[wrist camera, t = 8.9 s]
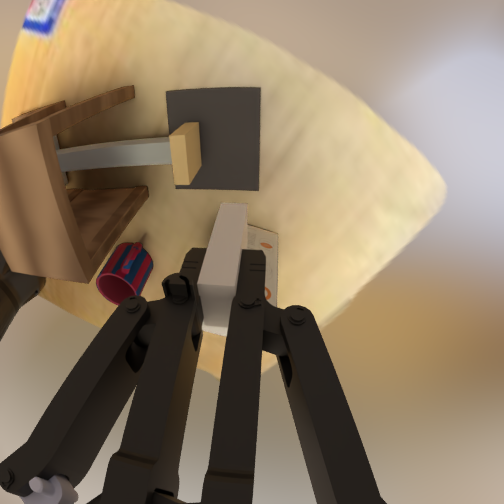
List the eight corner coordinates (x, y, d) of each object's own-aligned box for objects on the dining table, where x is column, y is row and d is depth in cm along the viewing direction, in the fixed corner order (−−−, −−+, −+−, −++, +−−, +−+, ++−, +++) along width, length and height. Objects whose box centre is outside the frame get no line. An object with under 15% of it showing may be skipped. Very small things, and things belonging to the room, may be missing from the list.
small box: (208, 251, 40) (185, 327, 30) (218, 214, 36) (194, 289, 26) (264, 268, 41) (257, 346, 31) (280, 233, 37) (278, 312, 27)
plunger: (63, 183, 34) (36, 206, 29) (49, 124, 29) (17, 142, 23) (205, 177, 33) (190, 205, 28) (200, 102, 27) (181, 114, 22)
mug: (109, 259, 43) (91, 289, 38) (132, 220, 38) (111, 250, 33) (142, 281, 45) (128, 313, 40) (170, 246, 40) (155, 279, 35)
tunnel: (42, 199, 37) (-20, 265, 24) (20, 114, 28) (-62, 164, 15) (148, 196, 35) (88, 283, 23) (133, 85, 26) (36, 124, 14)
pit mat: (176, 187, 34) (175, 188, 34) (167, 91, 27) (165, 91, 27) (258, 189, 34) (258, 190, 33) (260, 87, 26) (260, 87, 26)
